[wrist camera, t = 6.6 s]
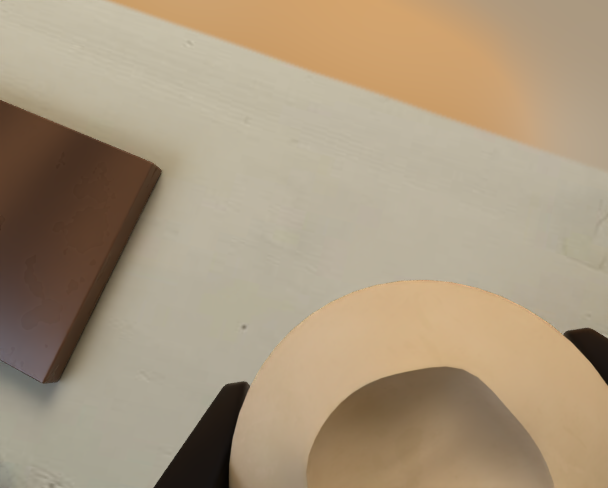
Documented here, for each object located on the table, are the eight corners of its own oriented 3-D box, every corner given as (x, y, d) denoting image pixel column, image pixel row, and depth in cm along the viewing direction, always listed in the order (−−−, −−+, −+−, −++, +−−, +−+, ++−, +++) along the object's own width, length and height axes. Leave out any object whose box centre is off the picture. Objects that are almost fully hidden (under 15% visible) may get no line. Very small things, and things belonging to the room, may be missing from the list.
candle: (545, 442, 15) (858, 614, 5) (384, 557, 15) (381, 953, 5) (422, 282, 16) (477, 172, 6) (276, 388, 16) (107, 437, 6)
